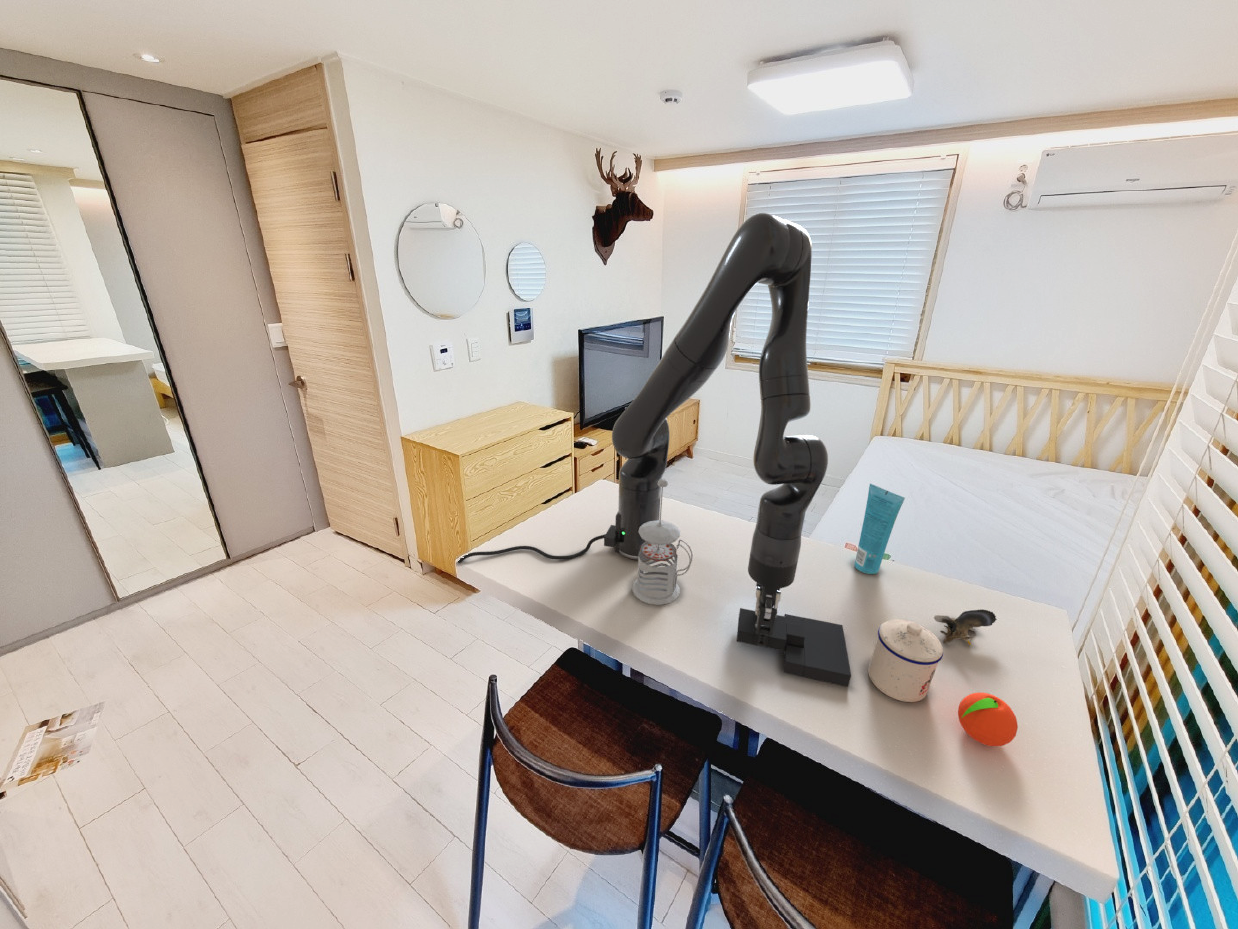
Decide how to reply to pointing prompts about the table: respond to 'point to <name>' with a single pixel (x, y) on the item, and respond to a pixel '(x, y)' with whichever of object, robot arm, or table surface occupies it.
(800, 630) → the small pad
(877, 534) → the tube
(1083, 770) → the table surface
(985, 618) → the eagle figurine
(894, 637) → the teacup with lid
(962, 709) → the clementine
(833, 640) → the large pad
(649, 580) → the french press
